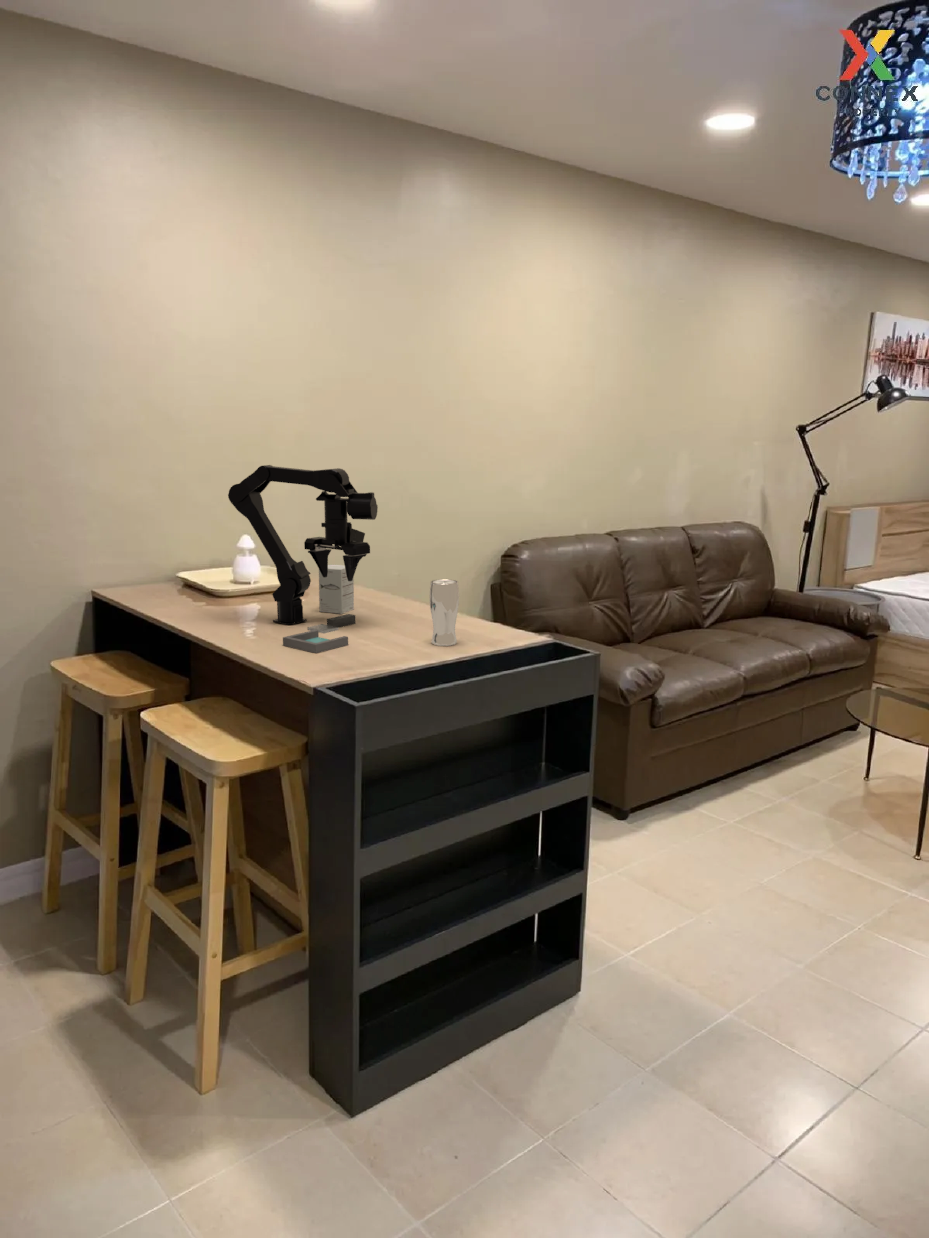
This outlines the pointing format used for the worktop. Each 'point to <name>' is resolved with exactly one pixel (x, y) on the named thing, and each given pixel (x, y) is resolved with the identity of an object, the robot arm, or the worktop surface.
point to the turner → (334, 623)
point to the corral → (300, 643)
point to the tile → (317, 640)
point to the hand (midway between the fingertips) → (337, 579)
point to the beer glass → (444, 611)
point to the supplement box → (336, 591)
